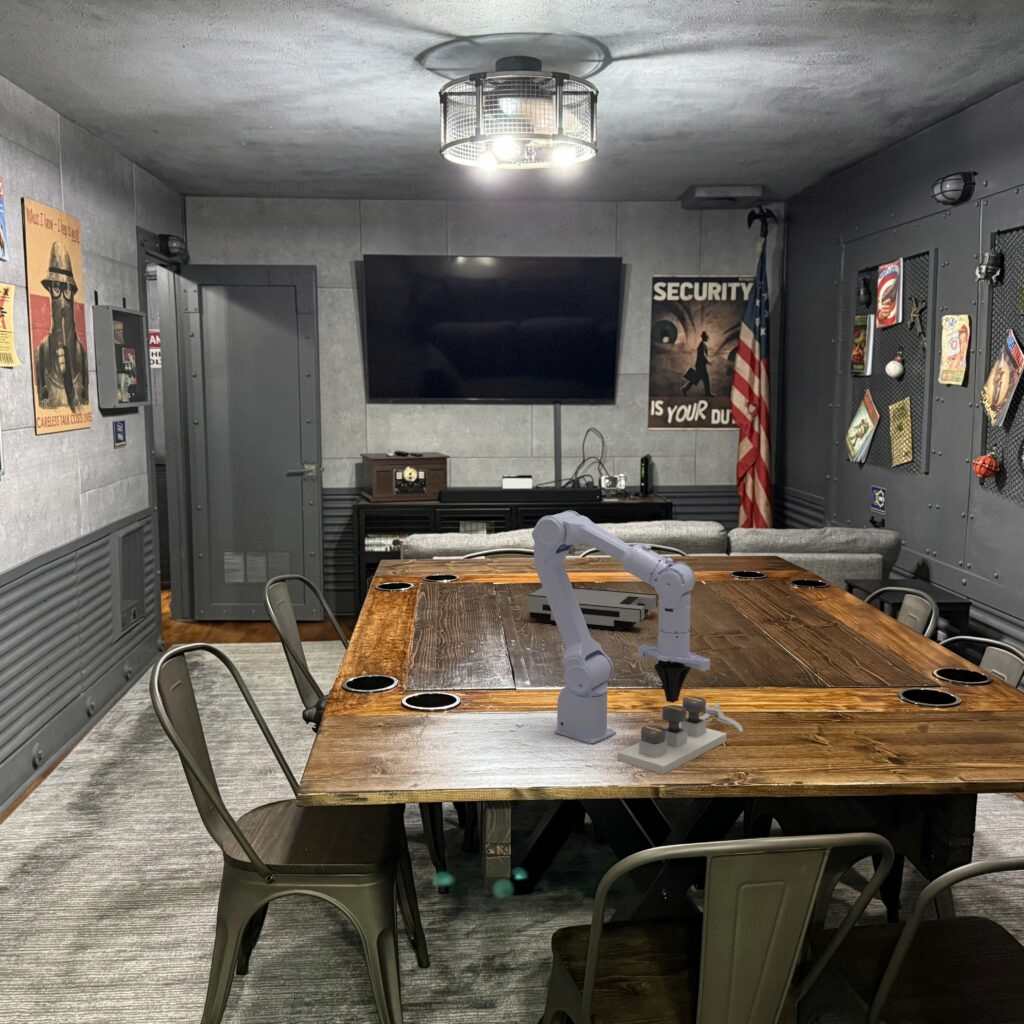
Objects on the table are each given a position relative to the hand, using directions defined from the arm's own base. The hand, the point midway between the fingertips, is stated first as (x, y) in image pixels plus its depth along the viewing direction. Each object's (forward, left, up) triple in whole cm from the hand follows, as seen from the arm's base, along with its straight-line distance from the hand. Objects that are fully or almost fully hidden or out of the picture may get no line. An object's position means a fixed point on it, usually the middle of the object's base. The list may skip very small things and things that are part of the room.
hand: (672, 700), depth 193 cm
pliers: (-3, +21, -10) cm, 24 cm away
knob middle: (0, +1, -6) cm, 6 cm away
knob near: (0, -6, -8) cm, 10 cm away
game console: (-71, +71, -10) cm, 101 cm away
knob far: (0, +8, -6) cm, 10 cm away
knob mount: (0, +1, -10) cm, 10 cm away
